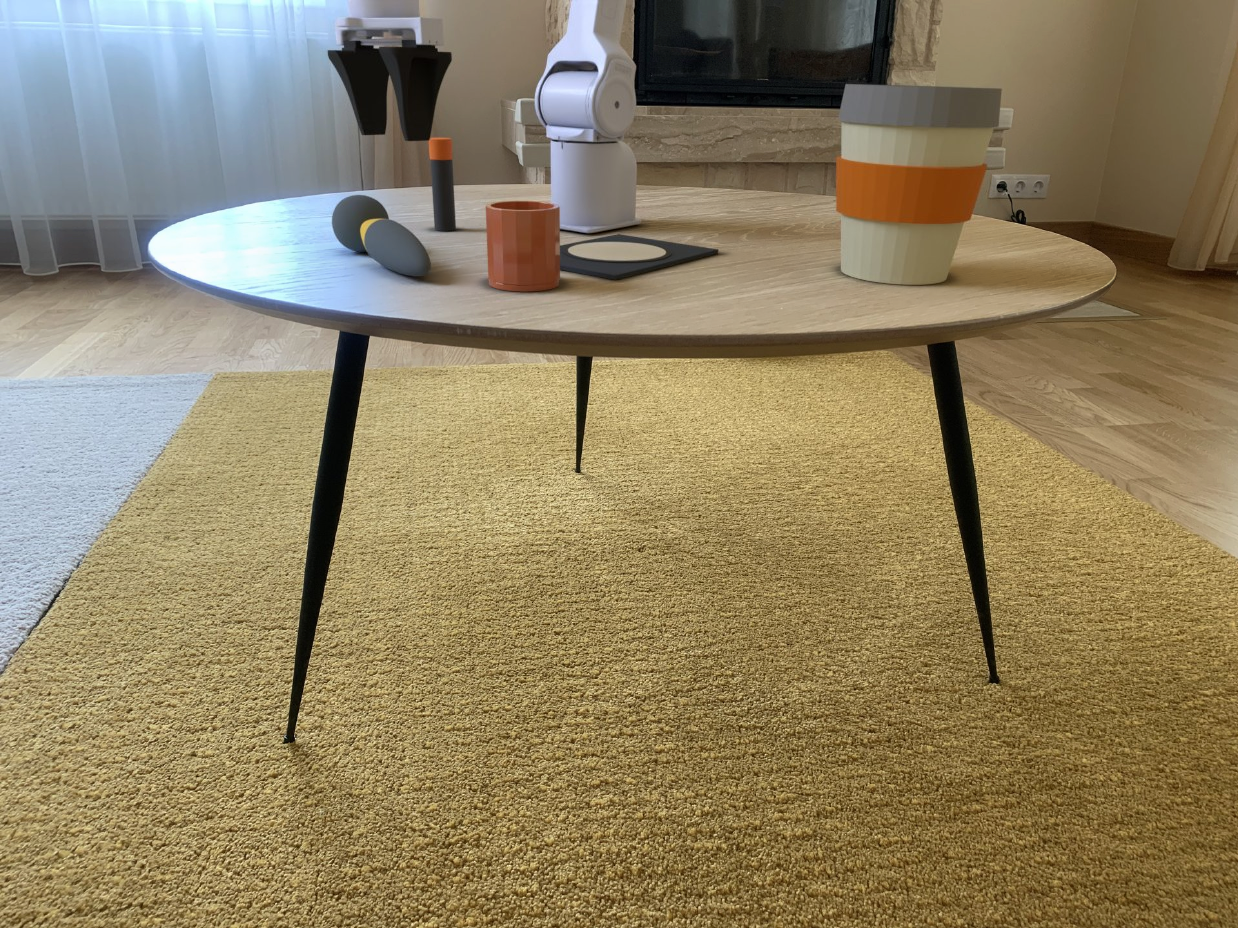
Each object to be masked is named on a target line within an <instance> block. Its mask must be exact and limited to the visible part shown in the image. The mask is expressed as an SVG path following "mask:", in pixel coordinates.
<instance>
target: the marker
mask: <svg viewBox="0 0 1238 928" xmlns="http://www.w3.org/2000/svg"><path fill="white" fill-rule="evenodd" d="M428 151H429V152H428V153H429V159H430V176H431V192H432V194H431V195H432V207H433V210H432V211H433V222H434V223H433V226H434V230H435V231H438V232H452V231H455V230H457V223H456V220H457V219H456V203H455V201H456V200H455V186H454V185H455V184H454V165H453V164H454V163H453V159H454V154H453V139H452V137H430V140H429V141H428Z"/></svg>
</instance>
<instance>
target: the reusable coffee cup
mask: <svg viewBox="0 0 1238 928" xmlns="http://www.w3.org/2000/svg"><path fill="white" fill-rule="evenodd" d="M1002 92H1003V88H997V87H996V88H995V87H969V86H966V87H965V86H937V85H934V86H933V85H906V84H905V85H903V84H902V85H901V84H866V83H865V84H862V83H861V84H860V83H846V84H845V86H844V90H843V94H842V100H841V104H840V109H839V113H838V117H837V121H839V122H841V132H840V133H841V136H840V137H841V139H840V141H841V142H840V143H841V144H840V145H841V147H840V149H841V151H840V155H839V156H836V159H835V162H836V167H835V174H836V175H835V177H836V178H835V184H836V187H835V190H836V191H835V196H836V197H835V201H836V202H835V205H836V206H835V211H836V212H837V213H839V214H840V271H841V272H842V274H845V275H846V276H849V277H852V278H855V279H859V280H863V281H867V282H874V283H881V284H891V285H906V286H907V285H908V286H910V285H911V286H917V285H918V286H921V285H934V284H939V283H943V282H945V281H947V279H948V275H949V272H950V269H951V266H952V262H953V260H954V256H955V253H956V250H957V247H958V243H959V240H960V237H961V235H962V230H963V228H964V225H965V223H967V222H970V221H971V220H972V217H973V216H972V215H973V213H974V210H975V206H976V203H977V201H978V197H979V194H980V191H981V188H982V185H983V181H984V178H985V175H986V172H987V169H988V164H987V163H984V162H985V161H984V160H985V158H986V154H987V152H988V148H989V145H990V141H991V139H992V135H993V132H994V129H995V128H998V127H999V126H1000V115H1001V102H1002Z"/></svg>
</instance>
